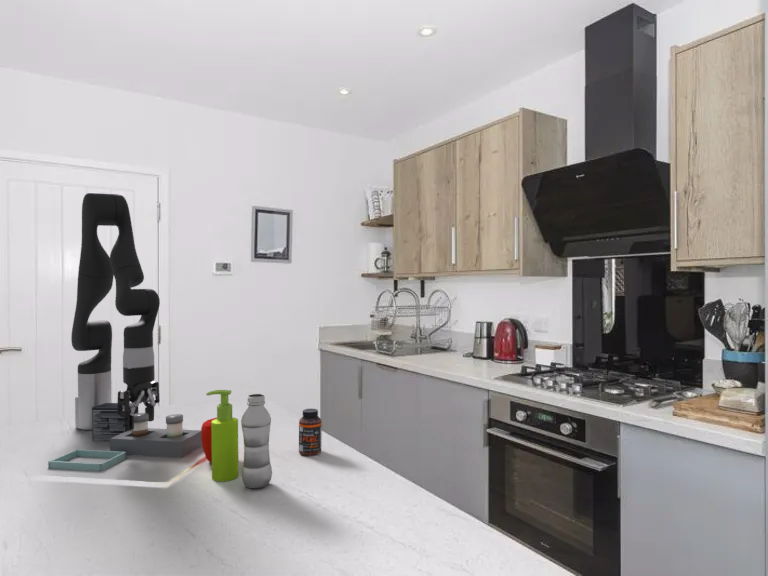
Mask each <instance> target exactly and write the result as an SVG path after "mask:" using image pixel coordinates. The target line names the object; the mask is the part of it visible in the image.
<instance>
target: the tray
mask: <svg viewBox="0 0 768 576" xmlns="http://www.w3.org/2000/svg"><path fill="white" fill-rule="evenodd" d="M76 457H89V458H105V459H107V458H108V459H107V460H105V461H103V462H101V463H99V462H98V463H96V462H82V461H81V462H79V461H77V462H76V461H69V460H72V459H74V458H76ZM125 459H127V455H126V452H119V451H110V450H99V449H98V450H97V449H95V450H94V449H79V448H77V449H73V450H72V451H69V452H67V453H65V454H63V455H60V456H58V457H56V458H54V459H53V458H52V459H51V460H49V461H48V464H47V465H48V469H59V470H60V469H61V470H63V469H65V470H75V471H76V470H77V471H78V470H79V471H96V472H97V471H98V472H102V471H104V470H106V469H108V468H109V467H111V466H113V465H115V464H118V463H119V462H121V461H124V460H125Z"/></svg>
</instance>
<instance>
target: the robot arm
mask: <svg viewBox="0 0 768 576" xmlns="http://www.w3.org/2000/svg"><path fill="white" fill-rule="evenodd" d="M131 219H132V218H131V212H130V208H129V204H128V202H127V199H126V197H124V195H122V194H119V193H108V192H107V193H106V192H95V191H94V192H87V193H85V195H84V196H83V199H82V204H81V245H80V246H81V248H80V253H79V254H80V255H79V256H80V257H79V264H78V272H77V286H76V288H77V289H76V303H75V304H76V305H75V310H74V317H73V322H72V329H71V337H70V338H71V345H72V348H73V349H74V350H75V351H78V352H87V351H88V352H89V351H97V350H98V351H97V353H96V354H95V355H94V356H92V357H91V358H89V359H87V360H84V361H81V362H80V363H78V365H77V396H76V397H75V399H74V410H75V411H74V415H75V417H74V418H75V419H74V420H75V421H74V422H75V423H74V426H75V429H76V428H77V429H79V430H83V431H84V430H85V431H89V430H91V431H92V407H94V406H98V405H101V404H104V403H113V402H112V398H113V396H112V346H113V345H112V343H113V327H112V325H111V322H110V321H109V320H103V319H102V320H89V319H90V316H91V314H92V312H93V311H94V310H95V309H96V307H98V305H99V304H100V303H101V302H102V301H103V300H104V299H105V298H106V296H108V294H109V293H110V291H111V290H112V288H113V283H114V281H115V301H114V302H115V303H114V304H115V309H116V311H117V312H118V313H119V314H120V315H122V316H123V317H133V316H140V318H139V320H138V321H137V322H136V323H133V324H130V325H127V326H125V327H124V329H123V353H122V371H123V372H122V379H123V380H122V382H123V383H124V384H126V390H119V391H118V392H117V402H116V403H117V414H118V415H123V416H124V428H125V430H133V429H134V415H133V414H134V411H135V409H136V408H137V407H138V408H139V405H140V404H142V403H143V405H144V406H145V407H144V413H148V414H149V420H148V422H153V421H154V420H155V407H156V405H157V404H159V403H160V383H159V382H158V381H154V380H155V377H156V376H155V375H156V374H155V351H154V328H155V325H156V324H155V323H156V320H157V316H158V313H159V310H160V305H161V304H160V303H161V302H160V301H161V300H160V297H159V293H158V292H157V291H156V290H154V289H152V288H136V287H138V286H140V285H142V283H143V282H144V280H145V276H144V271H143V269H142V266H141V263H140V259H139V257H138V253H137V249H136V245H135V238H134V232H133V225H132V220H131ZM99 226H100V227H101V226H103V227H105V226H107V227H117V229H118V235H117V238H116V240H115V242H114V245H113V246H112V248H111V251H110V253H109V254H110V255H109V254H108V253H107V251H106V249H105V248H104V246H103V245H102V244H101V241H100V239H99V236H98V227H99ZM122 405H124V409H123V410H122ZM130 407H131V409H130V411H129V408H130Z"/></svg>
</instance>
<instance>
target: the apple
mask: <svg viewBox="0 0 768 576" xmlns="http://www.w3.org/2000/svg"><path fill="white" fill-rule="evenodd" d="M214 419H217V417H214V418H211V419H207V420H205V421H204V422H202V426H201V428H200V430H201V442H202V446H201V447H202V449H203V452H204V456H205V458H206V460H207V461H208V463H209V462H210V463H211V464H212V430H211V422H212V420H214Z"/></svg>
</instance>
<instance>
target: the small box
mask: <svg viewBox="0 0 768 576" xmlns="http://www.w3.org/2000/svg"><path fill="white" fill-rule="evenodd" d="M117 403H118V402H112V403H104V404H101V405H98V406H94V407H92V430H91V431H92V436H91V437H92V441H93V442H110V438H113V437H115V436H117V435H119V434H122V433H124V432H126V431H128V430H125V428H124V416H123V415H118V414H117ZM123 409H124V405H122V410H123ZM130 409H131V407H130V408H129V411H130ZM137 413H139V406H138V407H137V408H136V409H135V411H134V414H137Z"/></svg>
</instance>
